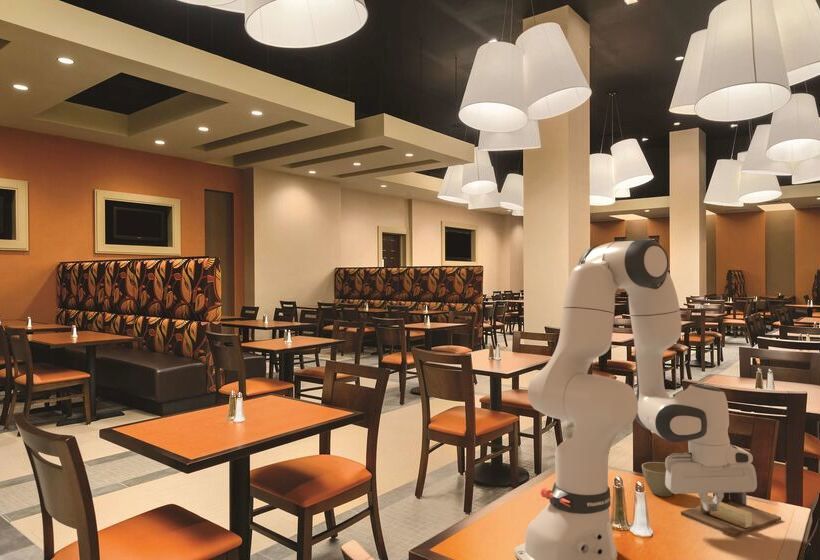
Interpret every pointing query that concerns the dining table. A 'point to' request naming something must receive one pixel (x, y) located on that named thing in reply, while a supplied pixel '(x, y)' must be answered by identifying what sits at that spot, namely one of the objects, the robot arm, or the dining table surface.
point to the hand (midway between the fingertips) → (711, 510)
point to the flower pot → (656, 478)
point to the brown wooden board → (758, 521)
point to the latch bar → (729, 513)
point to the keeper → (734, 498)
